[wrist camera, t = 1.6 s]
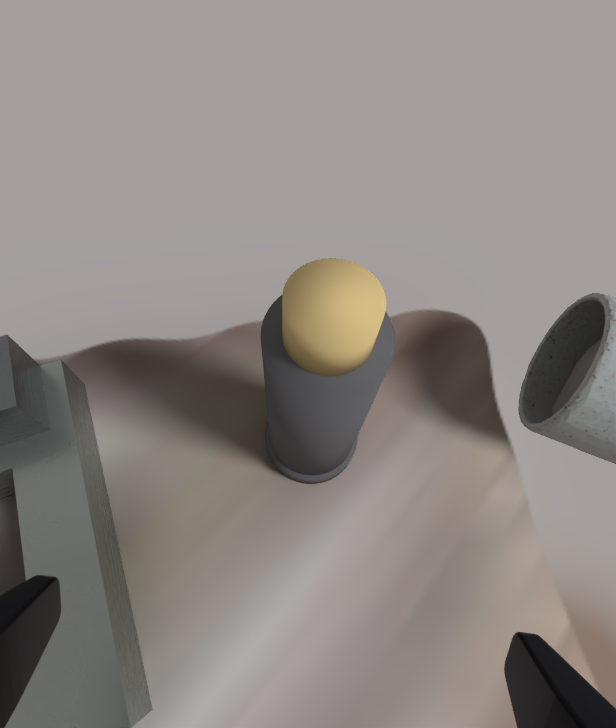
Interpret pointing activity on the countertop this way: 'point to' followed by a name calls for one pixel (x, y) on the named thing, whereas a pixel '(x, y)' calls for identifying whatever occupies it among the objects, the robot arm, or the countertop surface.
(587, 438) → the ceramic mug
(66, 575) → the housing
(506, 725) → the countertop surface
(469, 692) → the countertop surface
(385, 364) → the plug
